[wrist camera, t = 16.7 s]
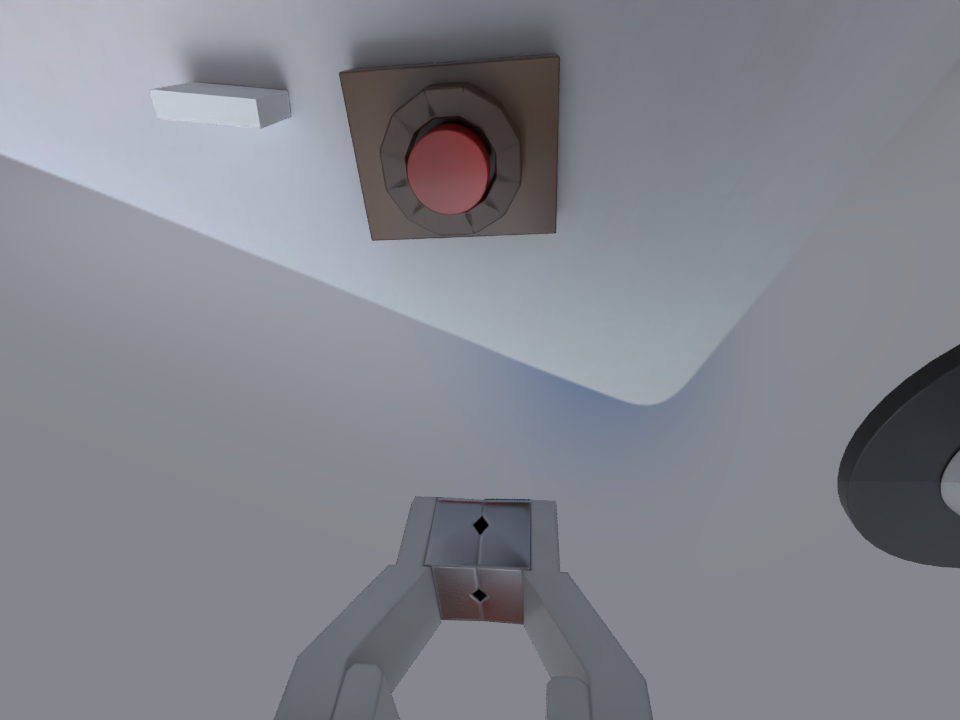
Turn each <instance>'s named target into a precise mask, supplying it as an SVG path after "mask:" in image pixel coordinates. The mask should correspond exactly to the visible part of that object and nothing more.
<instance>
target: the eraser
mask: <svg viewBox="0 0 960 720" xmlns="http://www.w3.org/2000/svg"><path fill="white" fill-rule="evenodd" d="M150 94H151V97H152V101H153V105H154V108H155V112H156V116H157V119H161V120H172V121H183V122H194V123H205V124H216V125H227V126H237V127H248V128H259V129H261V128H264V127H266V126H269V125H271V124H274V123H276V122H279V121H282V120H284V119H287V118H289V117H291V112H290V105H289V97H288V91H287V90H276V89H265V88H254V87H243V86H232V85H221V84H210V83H199V82H191V83H185V84H179V85H174V86H168V87H162V88H156V89H150Z"/></svg>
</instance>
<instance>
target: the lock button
mask: <svg viewBox="0 0 960 720" xmlns="http://www.w3.org/2000/svg"><path fill="white" fill-rule="evenodd" d="M489 174H490V158H489V154H488V151H487V148H486V146H485V144H484V143H483V141H482V140H481V138H480V137H479V136H478V135H477V134H476V133H475V132H473V131H472V130H470V129H469V128H467V127H465V126H462V125H459V124H453V123H447V124H441V125H438V126H436V127H433V128H432V129H430V130H429V131H428V132H426V133H425V134H424V135H423V136H422V138H421V139H420V140H419V141H418V142H417V143H416V144H415V146H414V147H413V149H412V151H411V153H410V155H409V159H408V164H407V177H408V182H409V185H410V187H411V190H412V192H413V193H414V195H415V197H416V198H417V199H418V200H419V201H420V202H421V203H422V204H423V205H424V206H425V207H427V208H428V209H430V210H432V211H434V212H436V213H440V214H445V215H455V214H460V213H463V212H465V211H467V210H469V209H471V208H472V207H474V206H475V205H476V204H477V203H478V202H479V200H480V199H481V198H482V196H483V194H484V192H485V190H486V187H487V183H488V178H489Z"/></svg>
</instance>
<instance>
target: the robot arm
mask: <svg viewBox="0 0 960 720" xmlns="http://www.w3.org/2000/svg"><path fill="white" fill-rule="evenodd" d="M941 495H942V498H943V500H944V502H945V503H946V505H947V506H948V507H949V508H950V509H951V510H953V511H954V512H955V513H957V514H958V515H960V450H959V451H958V452H957V453H956V455H955V456H954V457H953V458H952V460H951V461H950V462H949V464H948V466H947V467H946V469H945V471H944V474H943V476H942V480H941ZM441 620H465V621H482V620H483V621H489V622H501V623H514V624H524V628H525V630H526V631H527V633H528V635H529V637H530V639H531V641H532V643H533V645H534V647H535V649H536V651H537V652H538V655H539V656H540V658H541V660H542V662H543V664H544V666H545V668H546V670H547V672H548V674H549V676H550V678H551V680H550V681H549V682H548V683H547V690H546V691H547V693H546V719H545V720H653V716H652V711H651V706H650V700H649V694H648V688H647V683H646V680H645V678H644V677H643V675H642V674H641V673H640V671H639V670H638V669H637V667H636V666H635V664H634V663H633V662H632V660H631V659H630V658H629V656H628V655H627V653H626V652H625V651H624V649H623V648H622V646H621V645H620V644H619V642H618V641H617V640H616V638H615V637H614V636H613V634H612V633H611V631H610V630H609V629H608V627H607V626H606V624H605V623H604V622H603V620H602V619H601V618H600V616H599V615H598V613H597V612H596V611H595V609H594V608H593V607H592V605H591V604H590V602H589V601H588V600H587V598H586V597H585V596H584V594H583V593H582V592H581V590H580V589H579V588H578V586H577V585H576V583H575V582H574V580H573V579H572V578H571V576H570V575H569V574H568V573H567V572H560V558H559V540H558V523H557V505H556V502H555V501H549V500H532V501H531V500H530V499H527V500H525V499H484V500H481V499H463V498H443V497H419V496H418V497H416V496H415V498H414V500H413V502H412V504H411V508H410V512H409V515H408V519H407V523H406V527H405V531H404V535H403V539H402V543H401V546H400V550H399V555H398V558H397V562H396V565H388V566H387V567H386V568H385V569H384V570H383V571H382V572H381V573H380V574H379V575H378V576H377V577H376V578H375V579H374V580H373V581H372V582H371V583H370V584H369V585H368V586H367V587H366V588H365V589H364V590H363V591H362V592H361V593H360V594H359V595H358V596H357V597H356V598H355V599H354V600H353V601H352V602H351V603H350V604H349V605H348V606H347V607H346V608H345V609H344V610H343V612H341V613H340V614H339V615H338V616H337V617H336V618H335V619H334V620H333V621H332V622H331V624H329V625H328V626H327V627H326V628H325V630H324V631H322V633H320V634H319V635H318V636H317V638H316V639H315V640H314V641H313V642H312V643H311V644H310V645H309V646H308V647H307V648H306V649H305V650H304V651H303V652H302V653H301V654H300V655H299V656H298V657H297V660H296V662H295V665H294V667H293V670H292V673H291V675H290V678H289V680H288V683H287V686H286V688H285V691H284V694H283V696H282V699H281V701H280V704H279V707H278V710H277V712H276V715H275V717H274V720H400V718H399V715H398V712H397V709H396V706H395V703H394V700H393V697H392V695H391V694H392V692H393V690H394V689H395V687H396V686H397V685H398V684H399V682H400V681H401V679H402V678H403V676H404V675H405V674H406V672H407V671H408V669H409V668H410V667H411V665H412V664H413V662H414V661H415V659H416V658H417V657H418V655H419V654H420V652H421V651H422V649H423V648H424V647H425V645H426V644H427V642H428V641H429V639H430V638H431V637H432V635H433V634H434V632H435V631H436V630H437V628H438V627H439V625H440V624H441Z"/></svg>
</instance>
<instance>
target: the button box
mask: <svg viewBox="0 0 960 720" xmlns="http://www.w3.org/2000/svg"><path fill="white" fill-rule="evenodd" d="M559 70H560V57H559V56H558V55H557V54H544V55H531V56H517V57H504V58H491V59H477V60H464V61H450V62H437V63H423V64H410V65H397V66H383V67H370V68H356V69H350V70H346V71H342V72H339V76H340V81H341V86H342V91H343V96H344V101H345V106H346V111H347V117H348V122H349V127H350V132H351V137H352V142H353V147H354V152H355V157H356V162H357V167H358V173H359V178H360V183H361V188H362V193H363V198H364V203H365V208H366V213H367V218H368V223H369V228H370V234H371V239H372V240H373V241H375V240H399V239H424V238H449V237H473V236H498V235H523V234H548V233H556V212H557V165H558V117H559ZM447 123H453V124H459V125H462V126H465V127H467V128H469V129H470V130H472V131H473V132H475V133H476V134H477V135H478V136H479V137H480V138H481V140H482V141H483V143H484V144H485V146H486V148H487V151H488V154H489V158H490V174H489V178H488V183H487V187H486V190H485V192H484V194H483V196H482V198H481V199H480V200H479V202H478V203H477V204H476V205H475V206H474V207H472V208H471V209H469V210H467V211H465V212H463V213H460V214H455V215H445V214H440V213H436V212H434V211H432V210H430V209H428V208H427V207H425V206H424V205H423V204H422V203H421V202H420V201H419V200H418V199H417V198H416V197H415V195H414V193H413V192H412V190H411V187H410V185H409V182H408V177H407V164H408V159H409V155H410V153H411V151H412V149H413V147H414V146H415V144H416V143H417V142H418V141H419V140H420V139H421V138H422V136H423V135H424V134H425V133H426V132H428V131H429V130H430V129H432V128H433V127H436V126H438V125H441V124H447Z"/></svg>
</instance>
